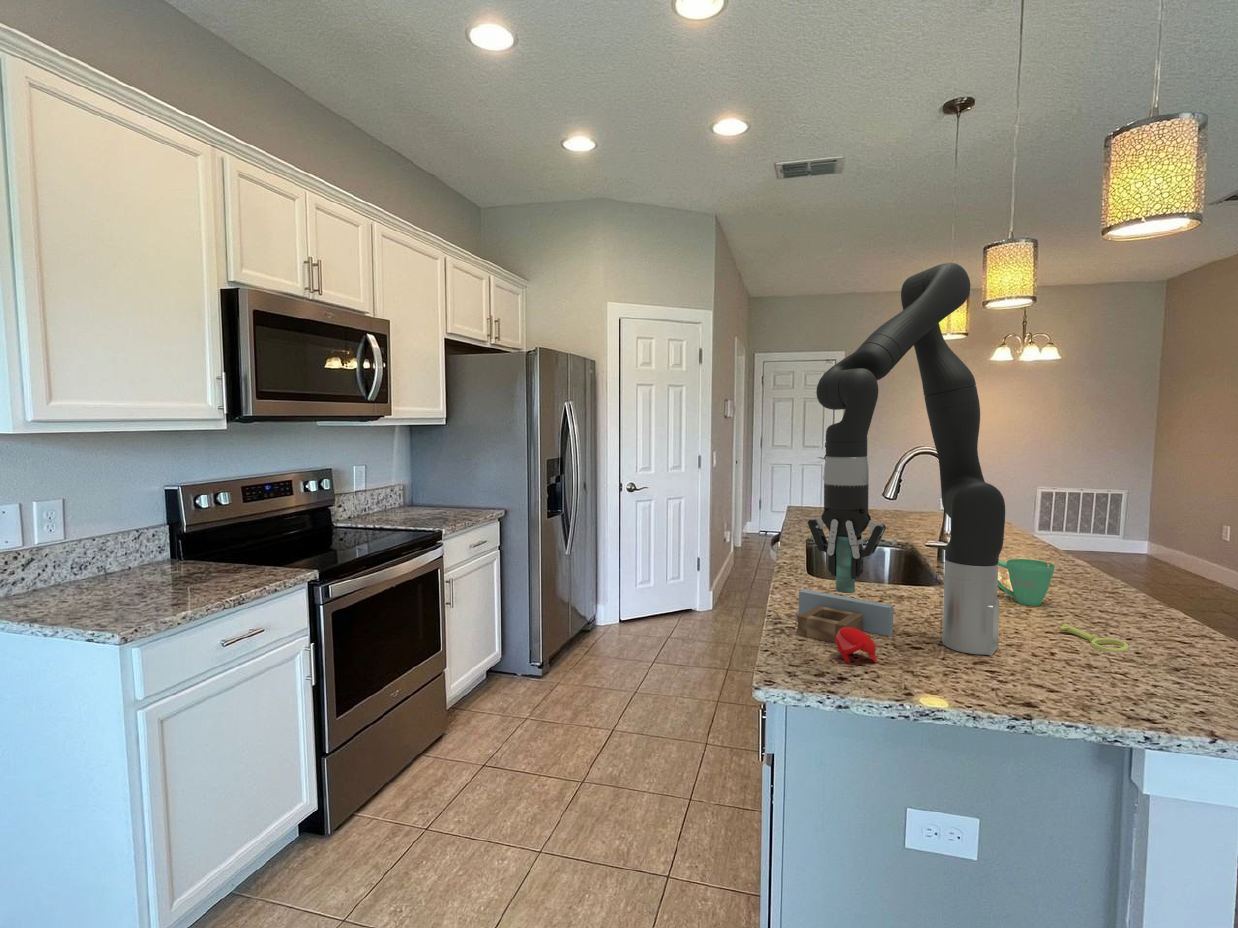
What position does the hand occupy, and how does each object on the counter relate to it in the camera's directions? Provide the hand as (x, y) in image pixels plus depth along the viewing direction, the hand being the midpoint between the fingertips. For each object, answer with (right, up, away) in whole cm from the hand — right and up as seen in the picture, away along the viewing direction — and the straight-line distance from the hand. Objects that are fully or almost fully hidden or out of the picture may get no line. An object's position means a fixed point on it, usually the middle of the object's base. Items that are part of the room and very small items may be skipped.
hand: (845, 576), depth 112 cm
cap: (+4, -17, +5) cm, 18 cm away
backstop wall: (+9, -15, +25) cm, 31 cm away
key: (+56, -17, +14) cm, 60 cm away
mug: (+59, -14, +43) cm, 74 cm away
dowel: (0, -3, 0) cm, 3 cm away
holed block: (+4, -16, +19) cm, 25 cm away
